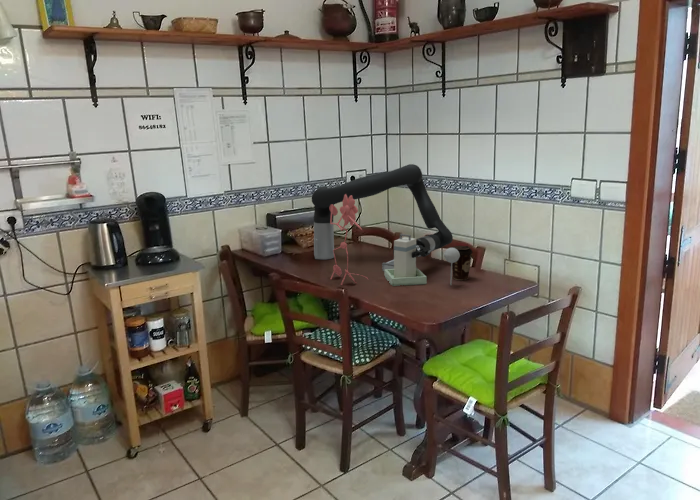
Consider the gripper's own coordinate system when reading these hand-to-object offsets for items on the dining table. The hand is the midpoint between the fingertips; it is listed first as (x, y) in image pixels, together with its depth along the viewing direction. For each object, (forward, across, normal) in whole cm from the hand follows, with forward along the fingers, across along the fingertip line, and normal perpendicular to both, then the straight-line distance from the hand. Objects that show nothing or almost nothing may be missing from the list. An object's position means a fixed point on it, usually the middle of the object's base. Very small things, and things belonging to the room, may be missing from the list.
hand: (403, 253), depth 218 cm
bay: (-14, -11, +11) cm, 21 cm away
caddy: (-2, 0, +10) cm, 11 cm away
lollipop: (-6, +18, +12) cm, 22 cm away
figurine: (+10, -19, +12) cm, 24 cm away
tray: (-2, 0, +11) cm, 11 cm away
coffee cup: (-16, +18, +12) cm, 27 cm away
